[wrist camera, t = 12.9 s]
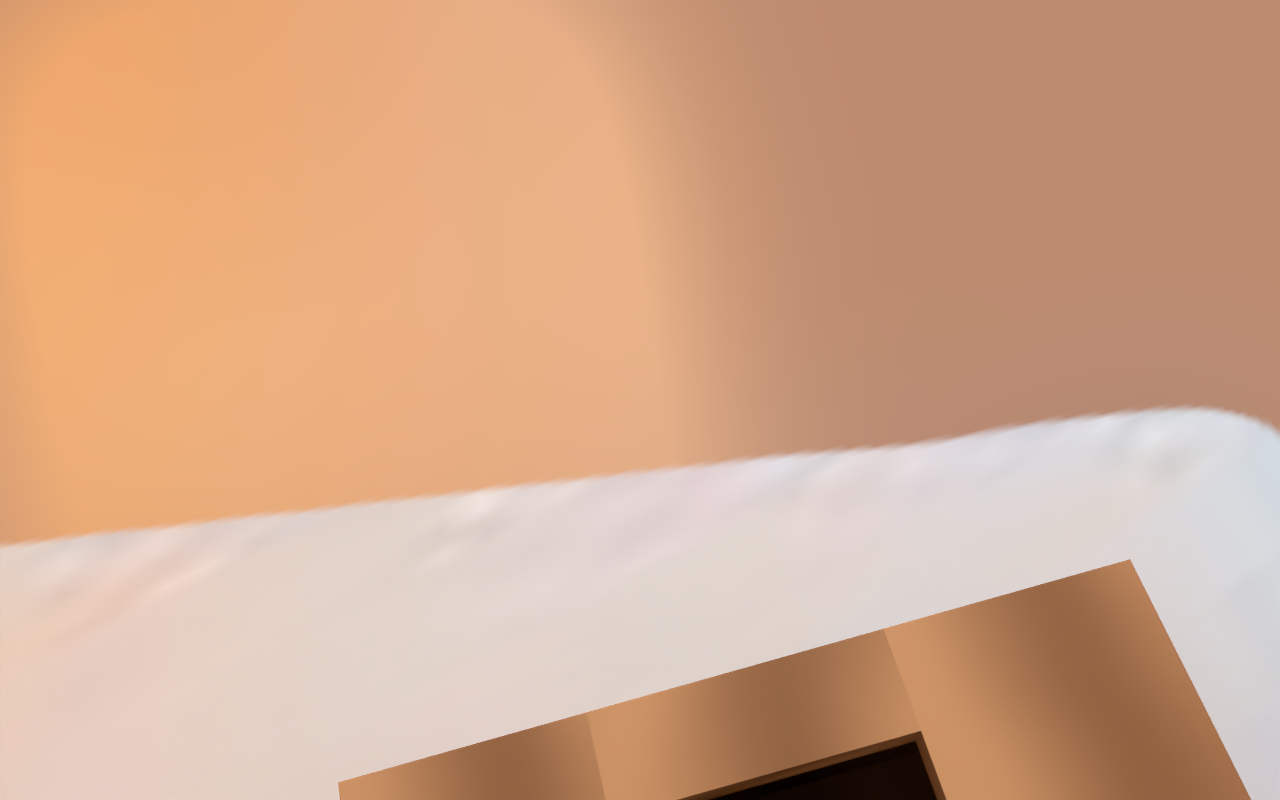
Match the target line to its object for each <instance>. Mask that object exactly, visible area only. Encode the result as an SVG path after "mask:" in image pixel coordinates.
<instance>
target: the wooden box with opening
mask: <svg viewBox="0 0 1280 800" xmlns="http://www.w3.org/2000/svg"><path fill="white" fill-rule="evenodd" d="M338 784H339V794H340V800H1251V799H1250V797H1249V795H1248V793H1247V791H1246V789H1245V787H1244V785H1243V783H1242V781H1241V779H1240V777H1239V775H1238V773H1237V771H1236V769H1235V767H1234V765H1233V763H1232V761H1231V759H1230V757H1229V755H1228V753H1227V751H1226V749H1225V747H1224V745H1223V743H1222V741H1221V739H1220V737H1219V735H1218V733H1217V731H1216V729H1215V727H1214V725H1213V723H1212V721H1211V719H1210V717H1209V715H1208V713H1207V711H1206V709H1205V707H1204V705H1203V703H1202V701H1201V699H1200V697H1199V695H1198V693H1197V691H1196V689H1195V687H1194V685H1193V683H1192V681H1191V680H1190V678H1189V676H1188V674H1187V672H1186V670H1185V668H1184V666H1183V664H1182V662H1181V660H1180V658H1179V656H1178V654H1177V652H1176V650H1175V648H1174V646H1173V644H1172V642H1171V640H1170V638H1169V636H1168V634H1167V632H1166V630H1165V628H1164V626H1163V624H1162V622H1161V620H1160V618H1159V616H1158V614H1157V612H1156V610H1155V608H1154V606H1153V604H1152V602H1151V600H1150V598H1149V596H1148V594H1147V592H1146V590H1145V588H1144V586H1143V584H1142V582H1141V580H1140V578H1139V576H1138V574H1137V572H1136V570H1135V568H1134V566H1133V564H1132V562H1131V560H1126V561H1123V562H1119V563H1116V564H1112V565H1109V566H1105V567H1102V568H1098V569H1094V570H1091V571H1087V572H1084V573H1080V574H1077V575H1073V576H1070V577H1066V578H1063V579H1059V580H1055V581H1052V582H1048V583H1045V584H1041V585H1038V586H1034V587H1031V588H1027V589H1023V590H1020V591H1016V592H1013V593H1009V594H1006V595H1002V596H999V597H995V598H992V599H988V600H984V601H981V602H977V603H974V604H970V605H967V606H963V607H960V608H956V609H952V610H949V611H945V612H942V613H938V614H935V615H931V616H928V617H924V618H921V619H917V620H913V621H910V622H906V623H903V624H899V625H896V626H892V627H889V628H885V629H881V630H878V631H874V632H871V633H867V634H864V635H860V636H857V637H853V638H850V639H846V640H842V641H839V642H835V643H832V644H828V645H825V646H821V647H818V648H814V649H810V650H807V651H803V652H800V653H796V654H793V655H789V656H786V657H782V658H779V659H775V660H771V661H768V662H764V663H761V664H757V665H754V666H750V667H747V668H743V669H739V670H736V671H732V672H729V673H725V674H722V675H718V676H715V677H711V678H708V679H704V680H700V681H697V682H693V683H690V684H686V685H683V686H679V687H676V688H672V689H669V690H665V691H661V692H658V693H654V694H651V695H647V696H644V697H640V698H637V699H633V700H629V701H626V702H622V703H619V704H615V705H612V706H608V707H605V708H601V709H598V710H594V711H590V712H587V713H583V714H580V715H576V716H573V717H569V718H566V719H562V720H558V721H555V722H551V723H548V724H544V725H541V726H537V727H534V728H530V729H527V730H523V731H519V732H516V733H512V734H509V735H505V736H502V737H498V738H495V739H491V740H487V741H484V742H480V743H477V744H473V745H470V746H466V747H463V748H459V749H456V750H452V751H448V752H445V753H441V754H438V755H434V756H431V757H427V758H424V759H420V760H416V761H413V762H409V763H406V764H402V765H399V766H395V767H392V768H388V769H385V770H381V771H377V772H374V773H370V774H367V775H363V776H360V777H356V778H353V779H349V780H346V781H342V782H338Z"/></svg>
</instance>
